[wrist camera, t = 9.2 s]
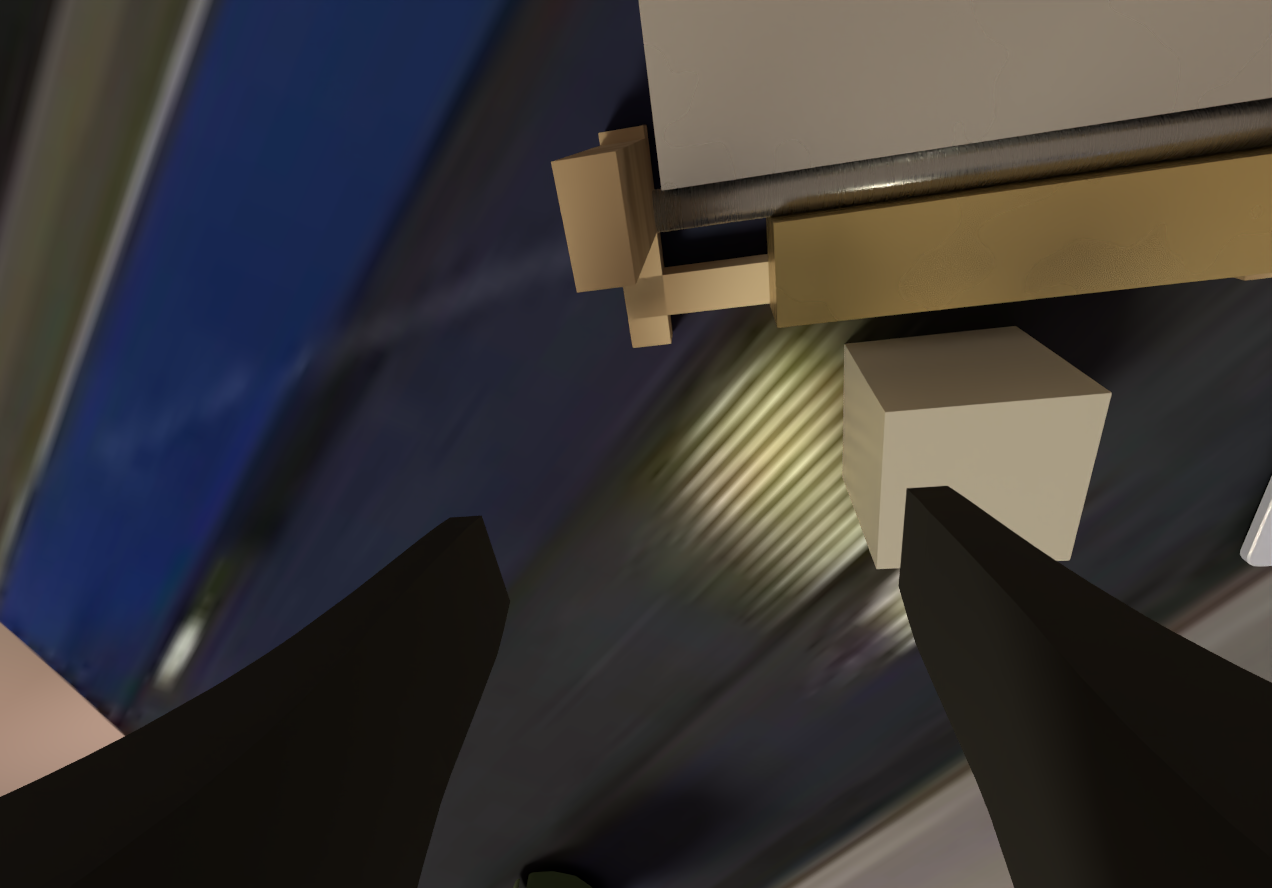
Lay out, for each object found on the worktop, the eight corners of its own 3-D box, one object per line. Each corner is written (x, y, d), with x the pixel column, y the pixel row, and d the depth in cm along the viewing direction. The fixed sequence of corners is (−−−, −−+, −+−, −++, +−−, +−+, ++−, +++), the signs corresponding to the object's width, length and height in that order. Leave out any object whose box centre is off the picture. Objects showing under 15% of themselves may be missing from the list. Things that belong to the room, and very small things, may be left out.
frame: (1356, 3, 14) (1850, -79, 8) (1265, 266, 16) (1577, 352, 11) (603, 132, 17) (547, 143, 11) (636, 337, 19) (605, 436, 13)
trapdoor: (1800, -591, 7) (2072, -766, 6) (1425, 228, 11) (1525, 244, 10) (600, -255, 9) (582, -320, 8) (672, 316, 14) (668, 340, 12)
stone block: (1014, 324, 18) (1111, 393, 14) (992, 464, 20) (1070, 560, 16) (844, 342, 19) (885, 412, 15) (841, 475, 21) (876, 569, 17)
